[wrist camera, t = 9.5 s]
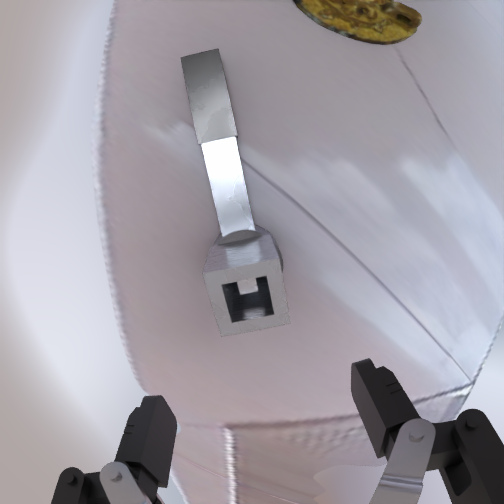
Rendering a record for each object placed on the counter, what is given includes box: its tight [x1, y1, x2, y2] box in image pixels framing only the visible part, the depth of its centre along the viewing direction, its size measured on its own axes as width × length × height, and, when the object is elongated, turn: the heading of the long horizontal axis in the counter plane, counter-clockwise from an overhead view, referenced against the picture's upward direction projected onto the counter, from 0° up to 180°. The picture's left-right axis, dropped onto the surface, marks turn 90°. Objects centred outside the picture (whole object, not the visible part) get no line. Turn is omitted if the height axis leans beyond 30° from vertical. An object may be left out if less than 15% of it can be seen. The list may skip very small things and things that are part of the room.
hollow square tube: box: [202, 234, 290, 337], centre depth 22 cm, size 5×5×6 cm
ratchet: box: [181, 49, 283, 295], centre depth 22 cm, size 22×6×6 cm, turn 12°
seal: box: [294, 0, 422, 45], centre depth 18 cm, size 9×5×15 cm
